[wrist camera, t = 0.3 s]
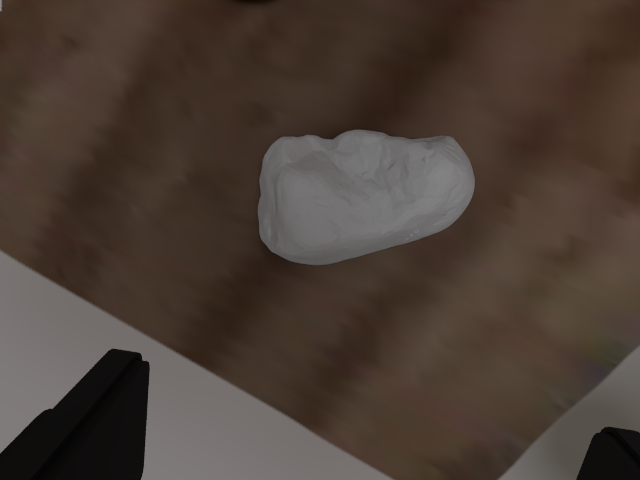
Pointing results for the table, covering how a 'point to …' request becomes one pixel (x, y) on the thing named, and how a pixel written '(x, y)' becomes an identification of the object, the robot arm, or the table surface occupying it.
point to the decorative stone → (358, 193)
